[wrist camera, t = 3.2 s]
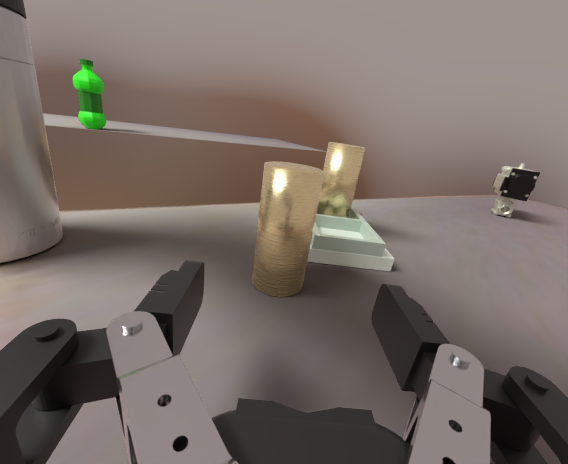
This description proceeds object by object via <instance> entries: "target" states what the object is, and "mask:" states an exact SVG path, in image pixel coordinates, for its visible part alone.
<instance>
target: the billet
mask: <svg viewBox="0 0 568 464" xmlns="http://www.w3.org/2000/svg"><path fill="white" fill-rule="evenodd" d="M323 177H324V171H323V170H321V169H318V168H315V167H311V166H306V165H301V164H295V163H286V162H266V163H265V165H264V174H263V183H262V192H261V201H260V210H259V219H258V228H257V237H256V246H255V256H254V265H253V274H252V283H253V285H254V287H255V288H256V289H258V290H259V291H260V292H262V293H265V294H267V295H270V296H276V297H288V296H293V295H295V294H297V293H299V292H300V291H301V290H302V287H303V282H304V277H305V271H306V266H307V261H308V256H309V251H310V245H311V240H312V235H313V230H314V224H315V219H316V214H317V209H318V204H319V198H320V193H321V188H322V183H323Z"/></svg>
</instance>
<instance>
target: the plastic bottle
mask: <svg viewBox="0 0 568 464" xmlns="http://www.w3.org/2000/svg"><path fill="white" fill-rule="evenodd" d="M80 64H81V65H82V70H81V71H79V72H78V73H76V74H75V75H74V76H73V84H74V87H75V88H76V89H77V90H78V95H79V103H80V112H79V116H78V117H79V121H80V122H81V123H82V124H83V125H84V126H85V127H86V128H89V129H101V128H103V127H104V126H105V124H106V118H105V116H104V114H103V110H102V99H101V94H102V93H103V92H104V84H103V82H102V80H101V79H100V78H99V77H98V76H97V75H96V74H95V73H93V72H92V67H93V62H92V61H89V60H85V59H80Z"/></svg>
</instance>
